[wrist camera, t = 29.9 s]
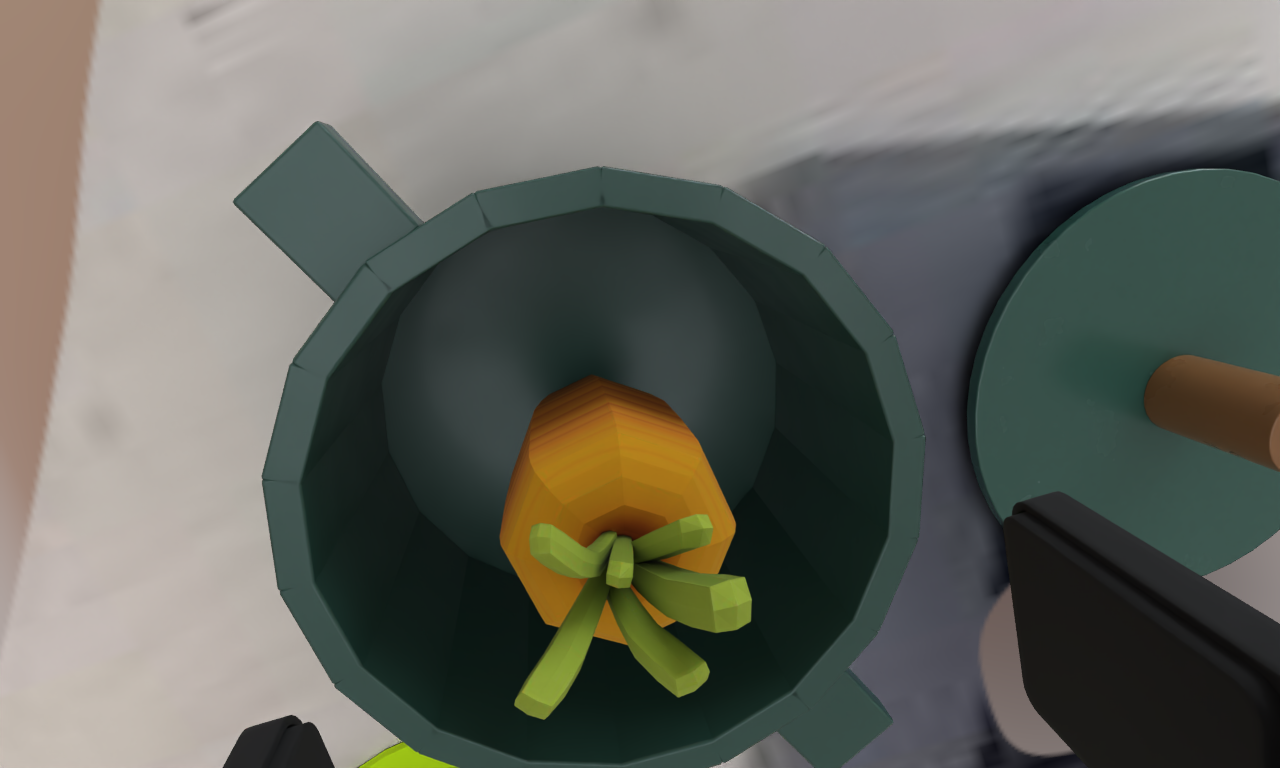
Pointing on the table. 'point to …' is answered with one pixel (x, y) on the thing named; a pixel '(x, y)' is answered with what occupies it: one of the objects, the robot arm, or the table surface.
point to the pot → (496, 427)
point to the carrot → (618, 536)
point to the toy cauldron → (403, 759)
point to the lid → (1144, 367)
